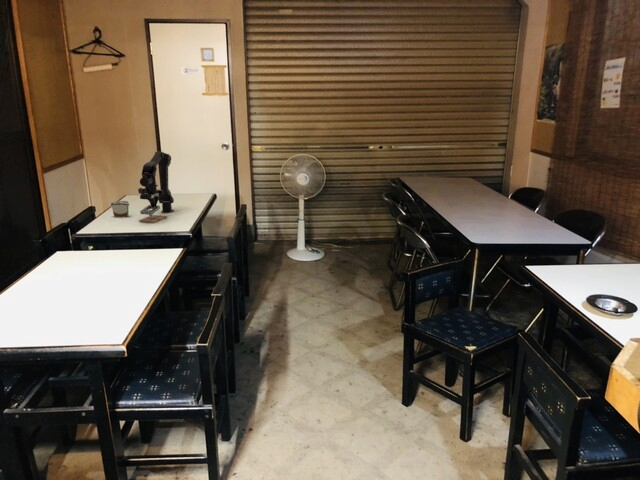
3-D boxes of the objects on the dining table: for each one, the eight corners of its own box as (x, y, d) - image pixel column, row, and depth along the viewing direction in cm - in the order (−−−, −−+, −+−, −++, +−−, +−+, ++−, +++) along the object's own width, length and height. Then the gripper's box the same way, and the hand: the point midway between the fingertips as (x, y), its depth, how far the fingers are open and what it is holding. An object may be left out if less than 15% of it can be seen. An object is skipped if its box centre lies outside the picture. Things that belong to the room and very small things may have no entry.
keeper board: (152, 216, 331) (151, 206, 329) (166, 217, 328) (165, 207, 326) (139, 222, 318) (137, 211, 316) (153, 223, 315) (152, 212, 313)
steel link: (149, 207, 325) (148, 204, 324) (160, 208, 323) (159, 205, 322) (140, 214, 317) (139, 211, 316) (151, 214, 315) (150, 212, 314)
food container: (134, 215, 336) (132, 200, 333) (129, 217, 330) (128, 202, 327) (116, 215, 337) (114, 200, 334) (112, 217, 331) (110, 202, 328)
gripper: (149, 180, 329) (152, 203, 334) (131, 185, 312) (134, 209, 317) (164, 181, 326) (166, 204, 331) (146, 186, 309) (149, 210, 314)
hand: (153, 207), depth 323 cm, fingers closed on steel link, 2 cm apart
